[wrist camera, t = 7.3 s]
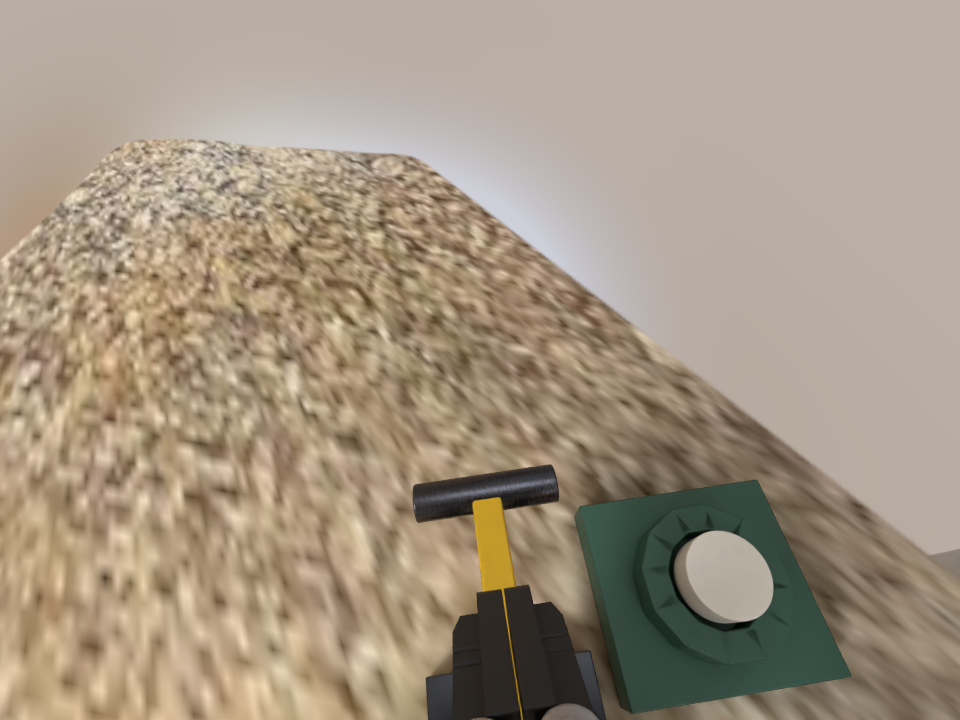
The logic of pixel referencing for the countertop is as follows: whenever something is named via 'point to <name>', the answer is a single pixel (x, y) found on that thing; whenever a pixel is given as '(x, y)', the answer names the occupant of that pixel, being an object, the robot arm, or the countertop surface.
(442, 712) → the bracket
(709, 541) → the button
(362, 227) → the countertop surface
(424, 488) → the yellow lever handle
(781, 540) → the button block
